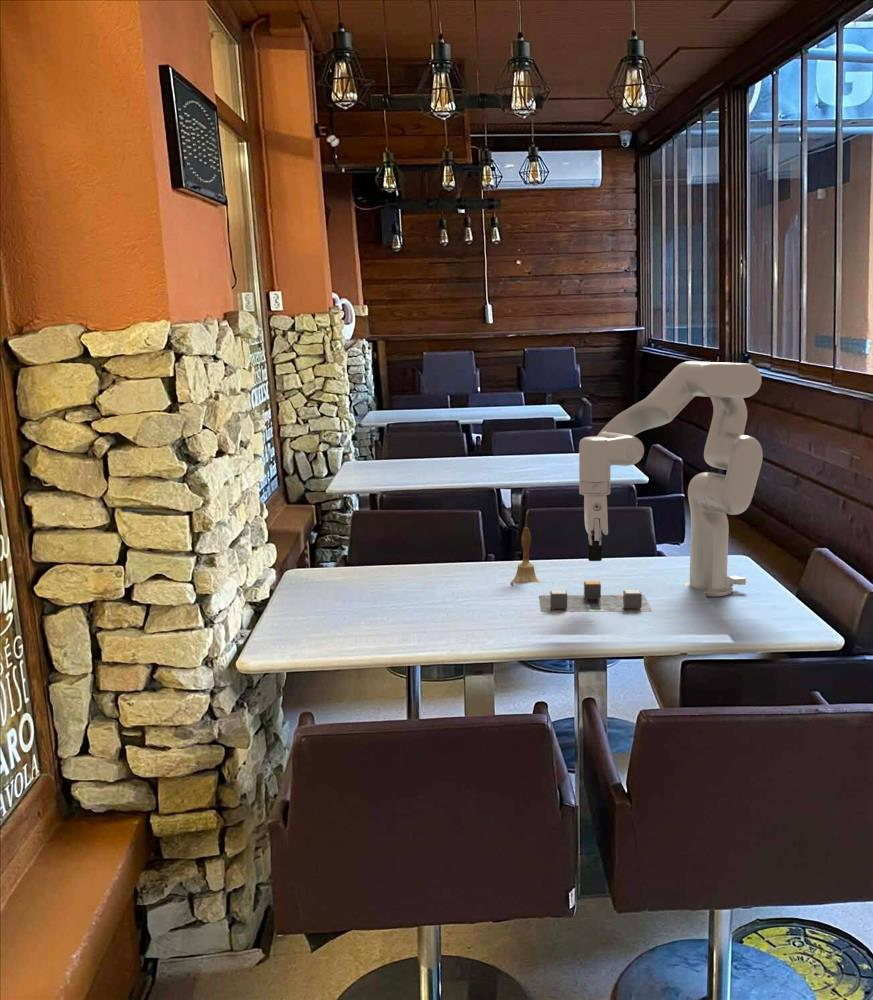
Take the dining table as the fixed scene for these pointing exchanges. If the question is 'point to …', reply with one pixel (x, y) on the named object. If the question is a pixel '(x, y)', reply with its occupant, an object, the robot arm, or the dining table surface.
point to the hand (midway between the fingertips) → (594, 560)
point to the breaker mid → (592, 589)
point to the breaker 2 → (632, 599)
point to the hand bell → (525, 562)
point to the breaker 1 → (558, 599)
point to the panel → (593, 604)
